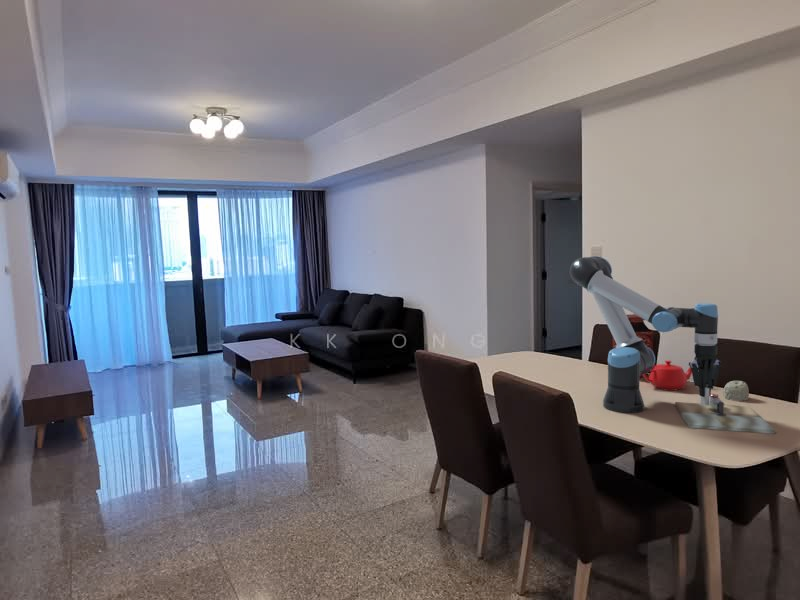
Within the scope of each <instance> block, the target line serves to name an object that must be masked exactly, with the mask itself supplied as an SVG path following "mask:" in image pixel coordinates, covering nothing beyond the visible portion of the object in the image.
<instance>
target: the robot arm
mask: <svg viewBox="0 0 800 600" xmlns="http://www.w3.org/2000/svg"><path fill="white" fill-rule="evenodd" d="M612 270H613V268H612V265H611V264H610V262H609V261H608V260H607V259H606V258H604V257H601V256H597V255H595V256H587V257H586V256H584V257H579V258H576V259H575V260H574V261H573V262H572V263H571V265H570V268H569V276H570V278H571V280H572V281H573V282H574V283H575V284H577V285H578V286H580V287H582V288H584V289H586V291H587V292H588V293H591V294H592V295H593V296H594V297H593V298H594V300H595V301H596V304H597V305H598V308H599V310H600V313H601V314H602V316H603V318H604V321H605V322H606V325H607V327H608V329H609V331H610V333H611V335H612V338H613V337H614V339H615V342H616V344H617V346H616V348H614V349H613V348H612V349H610V350H609V351H608V354H607V355H608V356H607V388H606V391H605V395H604V397H603V400H602V406H603V408H605V409H607V410H609V411H613V412H618V413H619V412H620V413H638V412H642V411H644V410H645V403H644V398H643V397H642V393H641V390H640V378H641V377H640V376H641V375H643V374H646V373H647V374H649V373H650V372H649V371H650V370H653V368H654V366H655V365H656V364H655V363H656V356H655V353H654V350H653V351H652V350H651V349H650V348H649V347H647V346H646V345H645V343H644V341H643V340H642V339H641V338H638V337H637V336H636V334H635V332H634V330H633V328H632V326H631V324H630V321H629V319H628V317H627V315H628V314H627V313H626V312H625V310H627V311H629V312H630V313H632V314H636V315H637V316H639V317H641V318H643V319H644V320H643V321H646V322H648V323H650V324H651V325H652V327H653V328H654V329H655V330H656V331H657V332H661V333H668V332H672V331H673V330H676V329H678V328H691V329H694V343H695V344H694V351H693V352H694V354H695V356H694V358H693V359H694V360H693V361H692V362H688V366H689V368H691V371H692V373H691V376H692V380H693V384H694V386H695V387H697V388H699V390H698V393H699V395H698V396H700V403H701V404H703V405H709V404H710V395H711V394H712V392H711V391H712V390H713V389H714V387H716V385H717V382H718V379H719V373H720V369H721V367H722V365H723V361H720V360H718V358H717V355H718V345H717V344H718V327H719V326H718V324H719V313H718V312H719V311H718V310H719V309H718V306H717V305H716V304H715V303H707V302H705V303H704V302H703V303H695V305H694V307H693V308H692V307H691V308H686V307H675V306H671V307H670V306H669V307H663V306H661V305H660V304H658V303H656V302H655V301H652V300H651V299H650V298H648V297H645V296H644V295H642V294H640V293H638V292H637V291H634V290H633V289H631V288H630V287H627V286H626V285H624V284H622V283H621V282H618V281H616V280H614V278H613V275H612V272H613V271H612Z"/></svg>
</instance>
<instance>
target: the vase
mask: <svg viewBox="0 0 800 600" xmlns="http://www.w3.org/2000/svg"><path fill="white" fill-rule="evenodd" d="M626 315H627V317H628V319H629V321H630V324H631V326H632V328H633V330H634V332H635V334H636V336H637V337H638V338H641V339H642V340H643V341H644V343H645V345H646V346H647V347H649V348H650V349H651V350H652V351H653V352H654V347H653V345H654V341H653V336H654V335H653V333H654V331H653V330H651V329H650V328H649V327H648V326H647V325H646V324H645V320H644V319H643V318H641V317H639V316H637V315H636V314H634V313H632V314H626ZM616 346H617V344H616V342H615V339H614V337H613V336H612V349H614V348H616ZM646 376H647V378H648V377H649V373H646ZM640 378H644V377H643V375H641V376H640Z"/></svg>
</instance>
